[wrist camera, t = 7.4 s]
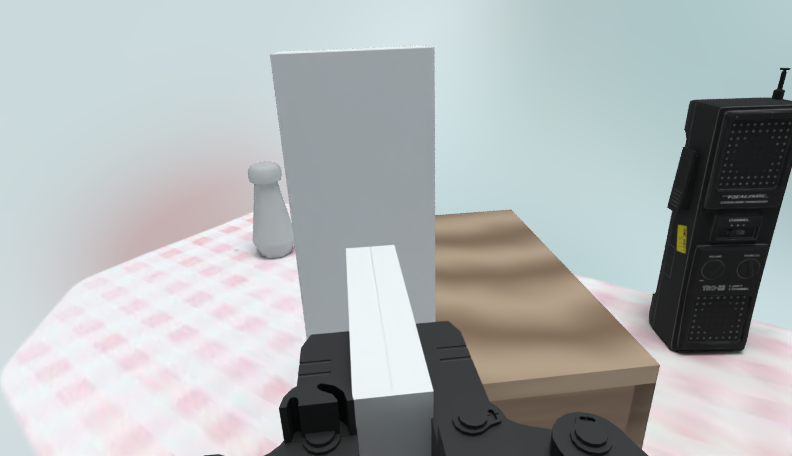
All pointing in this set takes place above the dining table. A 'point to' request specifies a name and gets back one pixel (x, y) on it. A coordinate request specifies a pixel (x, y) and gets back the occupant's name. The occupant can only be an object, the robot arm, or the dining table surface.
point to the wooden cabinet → (536, 327)
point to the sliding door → (358, 169)
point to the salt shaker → (270, 212)
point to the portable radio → (722, 220)
